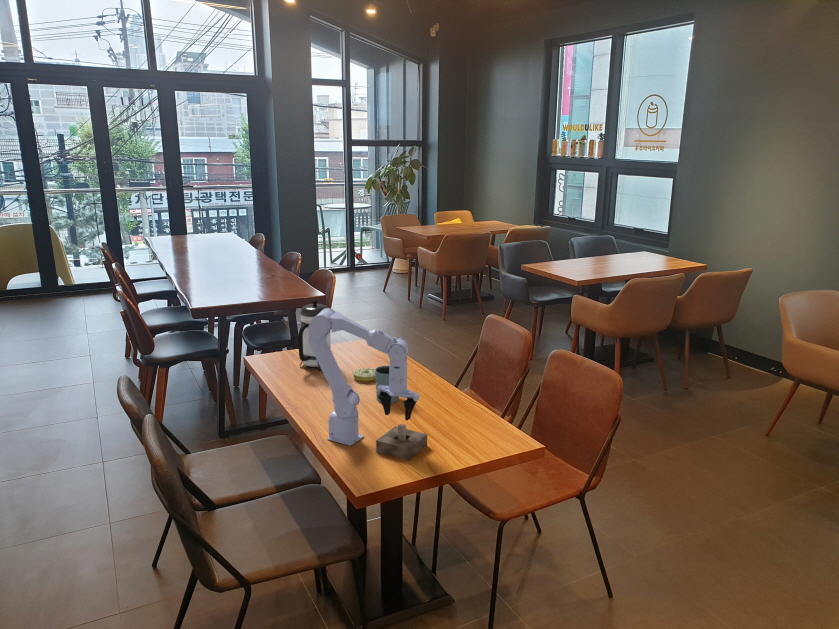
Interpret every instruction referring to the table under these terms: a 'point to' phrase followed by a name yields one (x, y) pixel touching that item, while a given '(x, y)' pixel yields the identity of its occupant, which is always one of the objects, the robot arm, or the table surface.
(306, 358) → the coffee press
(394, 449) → the square block with hole
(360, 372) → the decorated donut
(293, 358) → the table surface
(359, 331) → the robot arm
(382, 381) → the teal cup
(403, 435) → the dowel
